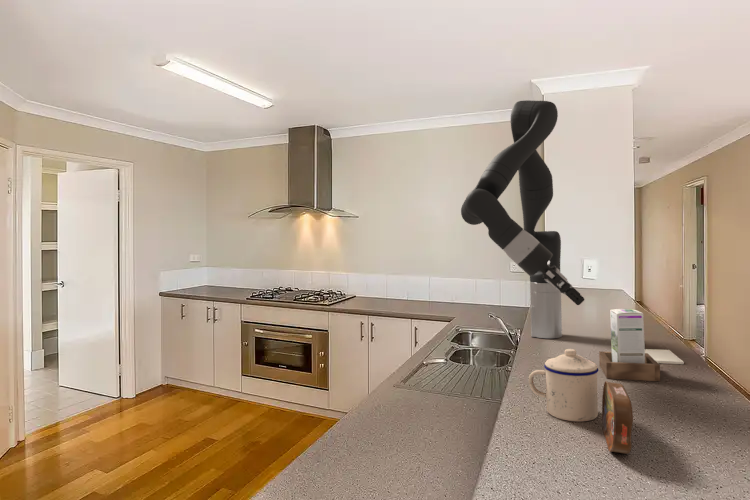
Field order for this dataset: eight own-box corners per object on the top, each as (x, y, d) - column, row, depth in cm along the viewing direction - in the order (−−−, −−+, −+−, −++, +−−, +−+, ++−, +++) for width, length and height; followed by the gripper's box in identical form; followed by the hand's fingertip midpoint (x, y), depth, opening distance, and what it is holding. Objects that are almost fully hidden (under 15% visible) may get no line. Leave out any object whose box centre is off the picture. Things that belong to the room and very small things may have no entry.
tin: (600, 422, 81) (599, 374, 81) (621, 424, 80) (620, 375, 80) (611, 462, 67) (610, 404, 67) (636, 465, 66) (635, 406, 66)
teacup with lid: (600, 408, 87) (599, 346, 87) (597, 426, 79) (596, 358, 79) (533, 399, 93) (532, 341, 93) (524, 415, 85) (523, 352, 85)
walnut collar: (606, 378, 105) (606, 362, 105) (599, 365, 115) (599, 351, 115) (660, 381, 101) (659, 365, 101) (647, 367, 111) (647, 353, 111)
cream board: (628, 361, 117) (628, 359, 117) (619, 350, 128) (619, 348, 128) (683, 364, 113) (683, 361, 113) (669, 352, 125) (669, 349, 125)
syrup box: (646, 377, 105) (645, 312, 104) (617, 376, 106) (616, 312, 105) (637, 369, 110) (636, 308, 110) (610, 369, 111) (609, 308, 111)
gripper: (539, 241, 106) (596, 292, 103) (537, 240, 120) (587, 285, 116) (515, 265, 108) (570, 316, 105) (516, 261, 121) (565, 306, 118)
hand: (579, 299), depth 111 cm, fingers open, 8 cm apart
